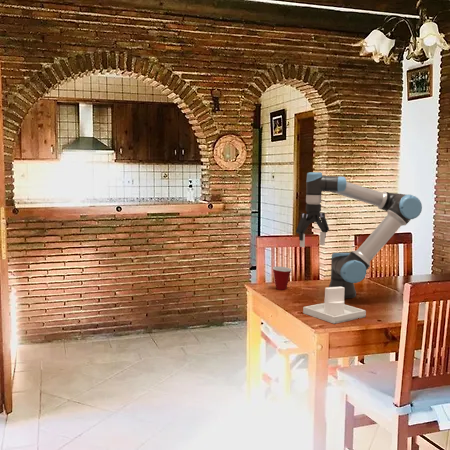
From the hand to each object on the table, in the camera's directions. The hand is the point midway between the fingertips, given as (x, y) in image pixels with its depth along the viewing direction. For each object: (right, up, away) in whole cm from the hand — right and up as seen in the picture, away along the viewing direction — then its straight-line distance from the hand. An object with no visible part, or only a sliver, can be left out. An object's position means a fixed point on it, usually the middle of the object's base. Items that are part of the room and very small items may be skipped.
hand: (312, 246), depth 263 cm
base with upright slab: (+7, -31, -20) cm, 37 cm away
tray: (+7, -31, -20) cm, 37 cm away
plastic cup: (-12, -26, +31) cm, 42 cm away
